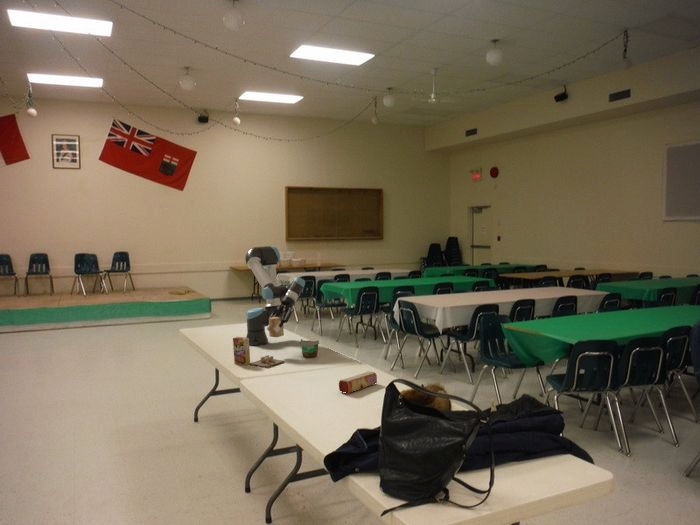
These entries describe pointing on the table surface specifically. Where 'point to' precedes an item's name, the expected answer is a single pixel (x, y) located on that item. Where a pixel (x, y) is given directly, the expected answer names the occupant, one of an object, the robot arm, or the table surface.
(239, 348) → the candy box
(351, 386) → the snack package
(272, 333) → the oak block
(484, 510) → the table surface
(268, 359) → the peg stand
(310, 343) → the food container
